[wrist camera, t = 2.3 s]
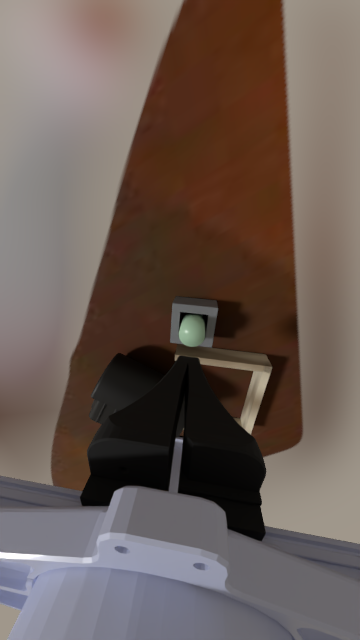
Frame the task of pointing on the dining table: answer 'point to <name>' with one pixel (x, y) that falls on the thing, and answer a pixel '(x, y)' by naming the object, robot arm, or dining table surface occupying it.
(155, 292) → the dining table surface
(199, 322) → the button
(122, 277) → the dining table surface
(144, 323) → the dining table surface
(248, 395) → the cream square frame
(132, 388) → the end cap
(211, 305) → the button housing
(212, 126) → the dining table surface
